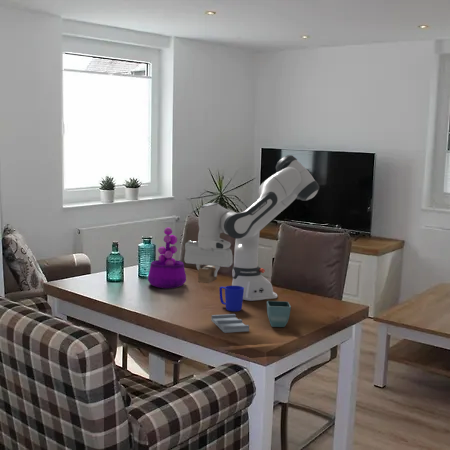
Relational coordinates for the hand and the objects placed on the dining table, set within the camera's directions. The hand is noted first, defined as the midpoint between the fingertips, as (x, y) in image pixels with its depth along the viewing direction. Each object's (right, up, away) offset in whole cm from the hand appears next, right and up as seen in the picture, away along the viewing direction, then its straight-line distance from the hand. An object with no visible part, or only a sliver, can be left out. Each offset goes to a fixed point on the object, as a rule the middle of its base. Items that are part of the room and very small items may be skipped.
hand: (207, 275), depth 256 cm
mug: (+9, -16, +14) cm, 23 cm away
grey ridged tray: (+9, -19, -11) cm, 23 cm away
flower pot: (+28, -19, -8) cm, 35 cm away
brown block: (0, -2, 0) cm, 2 cm away
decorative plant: (-22, -10, +51) cm, 56 cm away
